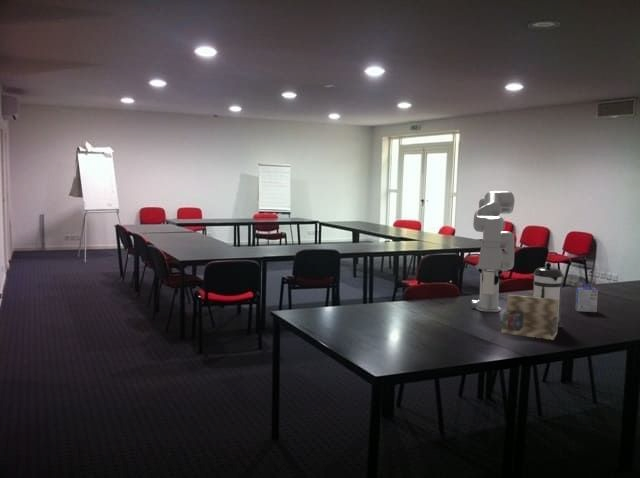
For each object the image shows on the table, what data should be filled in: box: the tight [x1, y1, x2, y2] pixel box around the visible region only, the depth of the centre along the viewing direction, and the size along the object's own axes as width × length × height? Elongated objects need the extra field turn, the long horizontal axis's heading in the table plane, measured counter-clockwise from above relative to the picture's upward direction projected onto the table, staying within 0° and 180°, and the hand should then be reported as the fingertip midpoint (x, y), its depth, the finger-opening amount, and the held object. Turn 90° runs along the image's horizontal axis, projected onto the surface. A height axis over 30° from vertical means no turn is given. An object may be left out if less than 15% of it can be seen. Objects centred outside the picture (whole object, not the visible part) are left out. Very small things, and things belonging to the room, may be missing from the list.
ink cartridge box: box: [574, 283, 599, 313], centre depth 288 cm, size 10×6×14 cm, turn 78°
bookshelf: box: [500, 294, 559, 341], centre depth 244 cm, size 22×12×16 cm, turn 59°
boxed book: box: [483, 269, 497, 294], centre depth 251 cm, size 4×8×10 cm, turn 148°
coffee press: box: [532, 262, 564, 328], centre depth 260 cm, size 17×16×30 cm
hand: (490, 283), depth 251 cm, fingers closed on boxed book, 4 cm apart
